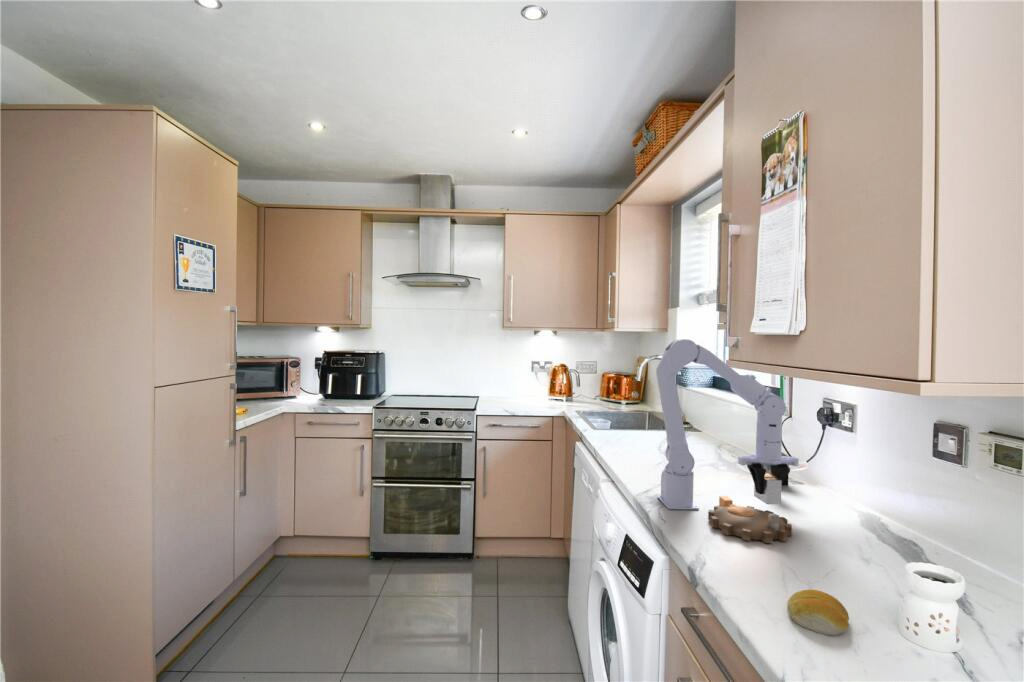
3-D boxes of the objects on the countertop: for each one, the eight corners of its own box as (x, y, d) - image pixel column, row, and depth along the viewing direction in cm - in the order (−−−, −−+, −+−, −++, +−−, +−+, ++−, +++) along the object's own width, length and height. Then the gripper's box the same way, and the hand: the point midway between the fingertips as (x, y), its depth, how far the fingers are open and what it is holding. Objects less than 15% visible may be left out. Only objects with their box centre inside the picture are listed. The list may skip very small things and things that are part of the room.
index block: (719, 507, 124) (719, 496, 124) (726, 507, 124) (726, 496, 124) (724, 512, 121) (724, 500, 121) (732, 512, 121) (732, 500, 121)
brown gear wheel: (696, 525, 111) (697, 504, 111) (724, 507, 123) (725, 488, 123) (778, 550, 99) (778, 526, 99) (800, 526, 111) (800, 505, 111)
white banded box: (753, 495, 124) (754, 472, 124) (767, 496, 124) (768, 472, 124) (766, 504, 118) (767, 479, 118) (781, 504, 118) (781, 479, 118)
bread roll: (848, 615, 77) (849, 591, 77) (848, 644, 70) (848, 617, 70) (790, 598, 82) (790, 575, 82) (783, 623, 75) (784, 598, 75)
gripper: (748, 443, 117) (747, 498, 117) (806, 444, 117) (805, 498, 117) (734, 437, 124) (733, 488, 124) (789, 437, 124) (788, 489, 125)
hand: (767, 493), depth 121 cm, fingers closed on white banded box, 4 cm apart
